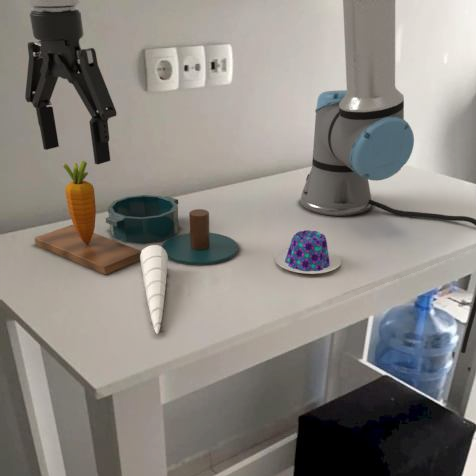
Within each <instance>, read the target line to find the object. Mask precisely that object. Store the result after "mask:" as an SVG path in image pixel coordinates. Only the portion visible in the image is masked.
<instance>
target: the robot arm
mask: <svg viewBox="0 0 476 476" xmlns="http://www.w3.org/2000/svg"><path fill="white" fill-rule="evenodd" d="M27 4H28V6H29V7H31V8H33V10H31V11H30V13H29V18H30V23H31V30H32V35H33V38H34V39H35V40H36V41H29V42H27V51H28V52H27V53H28V64H27V72H26V73H27V75H26V83H25V96H24V99H25V101H26V102H27V103H31V104H32V107H33V108H35V111H36V117H37V124H38V126H39V129H40V135H41V141H42V147H43V150H47V151H48V150H51V149H55V148H59V147H60V145H59V144H60V143H59V139H58V133H57V132H58V131H57V126H56V119H55V114H54V107H53V106H52V105H53V103H52V101H51V99H52V96H53V93H54V90H55V88H56V85H57V83H58V79H59V78H61V79H63V80H67V82H68V83H69V84H71V85H72V86H73V87H74V89H75V90H76V92H77V95H78V96H79V98H80V99H81V101H82V103H83V105H84V107H85V109H86V110H87V111H88V114H89V115H90V116H91V117H90V119H89V121H88V122H89V131H90V137H91V145H92V152H93V159H94V164H95V165H101V164H104V163H108V162H111V154H110V153H111V152H110V144H109V142H110V131H109V130H110V129H109V124H108V123H109V119H112V118H114V117H116V116H117V115H118V114H117V110H116V107H115V105H114V101H113V100H112V97H111V95H110V91H109V89H108V87H107V85H106V81H105V79H104V76H103V74H102V72H101V69H100V66H99V64H98V58H97V52H96V49H95V48H94V47H88V48H81V45H80V39H82V38H83V37H84V28H83V18H82V13H81V11H80V10H79V9H77V7H78V6H79V5H80V4H81V1H80V0H27ZM342 8H343V10H342V11H343V12H342V13H343V30H344V31H343V36H344V55H345V56H344V57H345V81H346V89H343V90H327V91H323V92H321V93H320V94H319V95H318V97H317V100H316V101H317V102H316V106H315V107H316V108H315V110H314V112H315V118H314V119H315V121H314V134H313V137H314V138H313V150H312V161H311V169H310V171H309V173H308V174H307V176H306V178H305V184H304V187H303V188H302V192H301V197H300V204H301V206H302V207H303V208H304V209H306V210H308V211H310V212H312V213H316V214H320V215H325V216H334V217H335V216H336V217H346V216H355V215H360V214H363V213H365V212H367V211H369V210H370V208H371V206H373V207H376V208H378V209H381V210H384V211H386V212H388V213H390V214H393V215H396V216H397V215H398V216H403V217H415V218H423V219H424V218H425V219H436V220H442V221H443V220H444V221H453V222H466V223H470V224H472V225H474V226H476V218H474V217H470V216H464V215H463V216H462V215H447V214H440V213H430V212H420V211H408V210H400V209H396V208H392V207H390V206H388V205H386V204H383V203H381V202H378V201H375V200H373V199H372V194H371V188H370V182H369V180H370V181H377V182H378V181H383V180H387V179H389V178H391V177H393V176H394V175H396V174H398V173H399V172H400V171H401V170H402V168H403V167H404V166H405V165H406V164H407V163H408V162H409V159H410V157H412V153H413V149H414V145H415V136H414V131H413V129H412V127H411V125H410V124H409V122H407V121H406V119H405V97H404V94H403V93H401V91H399V90H398V89H397V87H396V0H342ZM475 317H476V295H475V296H474V300H473V304H472V308H471V312H470V315H469V318H468V322H467V325H466V330H465V333H464V337H463V341H462V345H461V349H460V353H462V354H466V352H467V346H468V342H469V338H470V335H471V331H472V327H473V323H474V320H475Z"/></svg>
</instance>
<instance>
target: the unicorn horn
mask: <svg viewBox="0 0 476 476" xmlns="http://www.w3.org/2000/svg"><path fill="white" fill-rule="evenodd" d="M162 247H163V246H161V245H158V244H151V245H148V246H145V247H144V248H142V250H141V251H142V252H141V255H140V260H139V261H140V265H141V270H142V271H141V272H142V278H143V279H142V280H143V285H144V289H145V296H146V300H147V305H148V311H149V315H150V319H151V323H152V326H153V327H152V328H153V330H154V332H155V334H157V335H158V334H159V333H160V330H161V326H162V319H163V311H164V304H165V296H166V287H167V276H168V267H169V258H168V255H167V253H166V251H165V249H163V248H162Z"/></svg>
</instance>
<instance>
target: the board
mask: <svg viewBox="0 0 476 476" xmlns="http://www.w3.org/2000/svg"><path fill="white" fill-rule="evenodd" d="M33 239H34V244H35V246H36V247H39V248H41V249H44V250H46V251H48V252H51V253H53V254H55V255H58V256H60V257H62V258H65V259H67V260H69V261H72V262H74V263H76V264H79V265H82V266H84V267H86V268H88V269H90V270H94V271H95V272H98V273H100V274H103V275H104V276H105V275H108V274H110V273H114V272H116V271H118V270H120V269H122V268H125V267H127V266H129V265H132V264H134V263H136V262H139V261H141V260H140V255H141V252H142V250H141V249H138V248H135V247H133V246H130V245H127V244H125V243H122V242H119V241H116V240H114V239H111V238H108V237H107V236H103V235H101V234H98V233H95V232H93V235H92V238H91V241H90V242H89V244H88V245H87V244H85V243H84V242H83V241H82V239H81V238H80V237H79V235H78V233H77V231H76V230H75V227H74V225H73V224H70V225H67V226H64V227H61V228H58V229H56V230H53V231H50V232H47V233H44V234H42V235H38V236H36V237H34V238H33Z"/></svg>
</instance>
